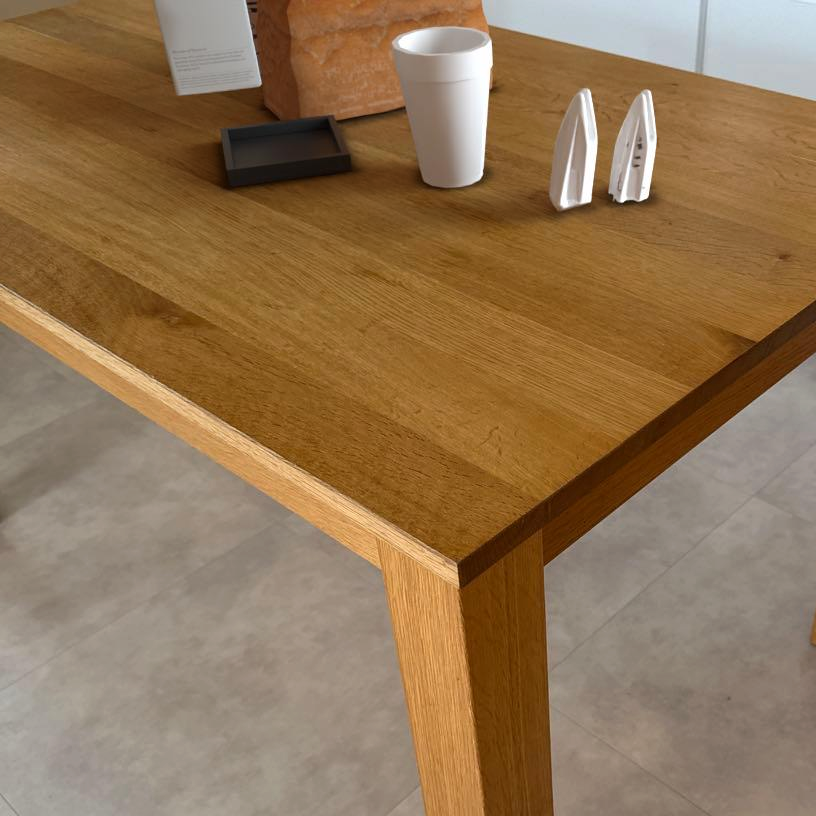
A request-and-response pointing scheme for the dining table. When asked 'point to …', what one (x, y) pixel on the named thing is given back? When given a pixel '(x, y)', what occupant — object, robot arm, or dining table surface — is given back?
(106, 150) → the dining table surface
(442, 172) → the foam cup
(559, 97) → the dining table surface
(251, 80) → the white packaging box
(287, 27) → the bread
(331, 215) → the dining table surface
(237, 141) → the black rectangular tray
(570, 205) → the shaker set
